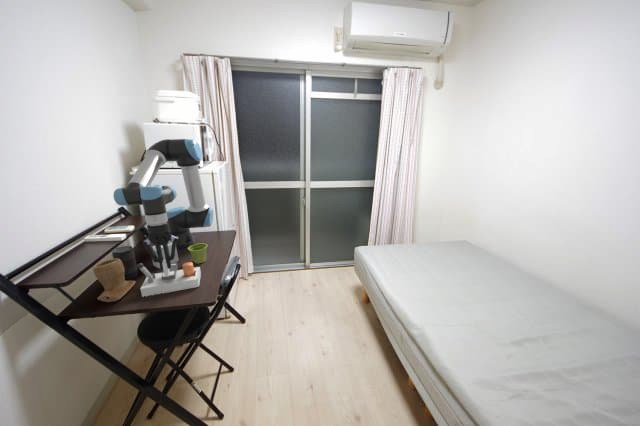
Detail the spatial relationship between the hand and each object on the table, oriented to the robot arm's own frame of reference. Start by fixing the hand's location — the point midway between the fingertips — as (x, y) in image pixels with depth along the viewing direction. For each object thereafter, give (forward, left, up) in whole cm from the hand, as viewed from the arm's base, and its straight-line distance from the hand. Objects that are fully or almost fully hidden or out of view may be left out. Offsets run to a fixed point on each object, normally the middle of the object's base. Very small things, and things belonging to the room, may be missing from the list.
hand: (167, 275), depth 110 cm
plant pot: (-26, +10, -8) cm, 29 cm away
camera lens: (-20, -21, -8) cm, 30 cm away
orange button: (-5, +8, -5) cm, 10 cm away
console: (-5, +1, -8) cm, 9 cm away
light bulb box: (-30, -7, -8) cm, 32 cm away
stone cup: (-6, -22, -8) cm, 24 cm away
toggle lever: (-5, -7, -3) cm, 9 cm away
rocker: (-5, 0, -1) cm, 5 cm away
